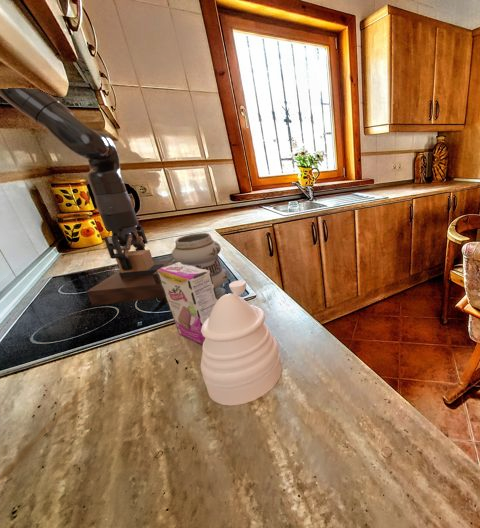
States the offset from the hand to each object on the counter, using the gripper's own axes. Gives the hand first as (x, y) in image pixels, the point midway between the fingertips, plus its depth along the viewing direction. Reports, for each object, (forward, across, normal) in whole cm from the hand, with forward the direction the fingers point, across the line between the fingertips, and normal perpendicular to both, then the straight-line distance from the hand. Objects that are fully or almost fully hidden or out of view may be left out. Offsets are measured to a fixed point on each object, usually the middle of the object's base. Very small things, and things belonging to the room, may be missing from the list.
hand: (136, 264), depth 82 cm
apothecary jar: (+9, +9, +21) cm, 25 cm away
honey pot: (+9, +44, +37) cm, 58 cm away
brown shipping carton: (+3, 0, +1) cm, 3 cm away
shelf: (+9, 0, +1) cm, 9 cm away
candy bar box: (+9, +29, +25) cm, 39 cm away
